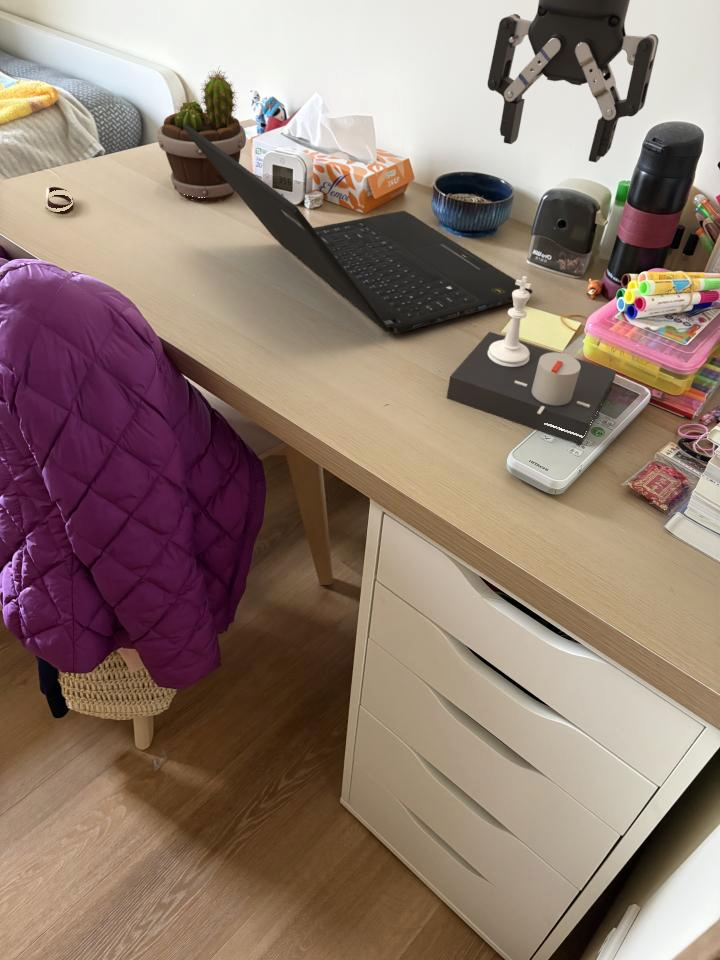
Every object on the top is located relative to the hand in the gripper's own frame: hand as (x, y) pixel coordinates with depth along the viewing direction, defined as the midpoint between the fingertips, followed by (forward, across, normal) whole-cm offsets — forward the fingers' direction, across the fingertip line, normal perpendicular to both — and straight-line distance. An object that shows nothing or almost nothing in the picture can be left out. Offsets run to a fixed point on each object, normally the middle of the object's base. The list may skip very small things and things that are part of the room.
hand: (551, 150), depth 69 cm
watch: (+26, -81, +6) cm, 85 cm away
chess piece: (+23, 0, 0) cm, 23 cm away
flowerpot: (+26, -66, +26) cm, 76 cm away
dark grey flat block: (+26, +4, -2) cm, 26 cm away
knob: (+23, +7, -5) cm, 25 cm away
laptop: (+26, -27, +12) cm, 40 cm away
